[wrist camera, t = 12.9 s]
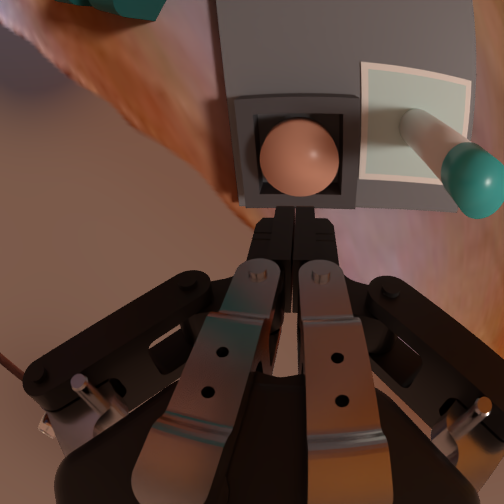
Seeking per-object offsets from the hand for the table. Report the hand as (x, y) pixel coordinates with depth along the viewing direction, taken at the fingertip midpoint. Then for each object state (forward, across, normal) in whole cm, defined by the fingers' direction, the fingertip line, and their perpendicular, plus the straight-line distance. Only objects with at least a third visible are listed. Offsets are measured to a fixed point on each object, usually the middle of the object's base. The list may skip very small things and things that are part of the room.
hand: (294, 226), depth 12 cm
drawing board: (+12, -5, -5) cm, 14 cm away
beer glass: (+13, +79, +78) cm, 112 cm away
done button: (+10, 0, 0) cm, 10 cm away
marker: (+11, -9, -2) cm, 14 cm away
